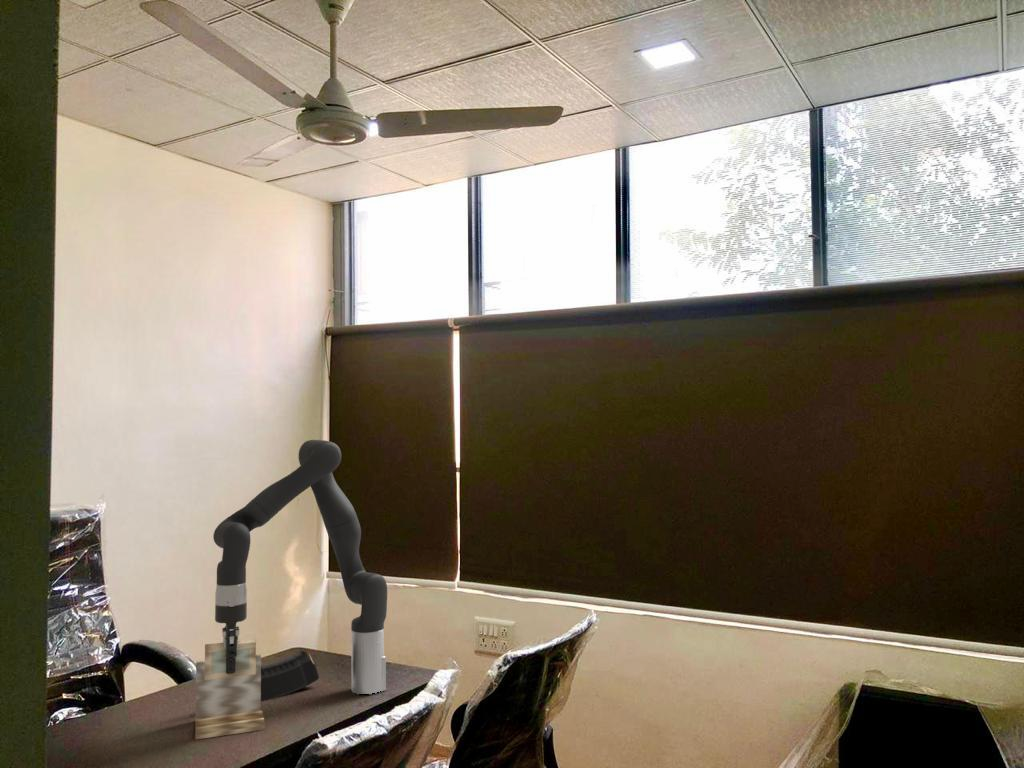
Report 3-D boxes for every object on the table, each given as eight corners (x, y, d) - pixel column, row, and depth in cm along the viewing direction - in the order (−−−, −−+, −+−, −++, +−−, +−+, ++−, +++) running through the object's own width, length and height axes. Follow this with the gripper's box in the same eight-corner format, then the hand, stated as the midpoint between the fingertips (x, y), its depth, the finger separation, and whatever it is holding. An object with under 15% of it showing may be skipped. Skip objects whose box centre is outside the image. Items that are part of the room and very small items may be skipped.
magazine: (206, 680, 209) (305, 628, 229) (201, 678, 212) (300, 626, 232) (224, 739, 212) (321, 682, 231) (219, 736, 214) (316, 680, 234)
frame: (254, 671, 203) (255, 639, 203) (255, 674, 200) (255, 642, 200) (204, 676, 198) (205, 644, 199) (204, 680, 195) (205, 647, 196)
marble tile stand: (260, 711, 211) (260, 654, 212) (264, 729, 198) (264, 668, 199) (195, 720, 205) (196, 661, 206) (195, 739, 192) (196, 676, 193)
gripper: (214, 597, 205) (213, 665, 204) (215, 608, 192) (215, 680, 191) (245, 595, 208) (244, 662, 207) (248, 605, 195) (247, 677, 194)
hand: (230, 670), depth 199 cm, fingers closed on frame, 3 cm apart
